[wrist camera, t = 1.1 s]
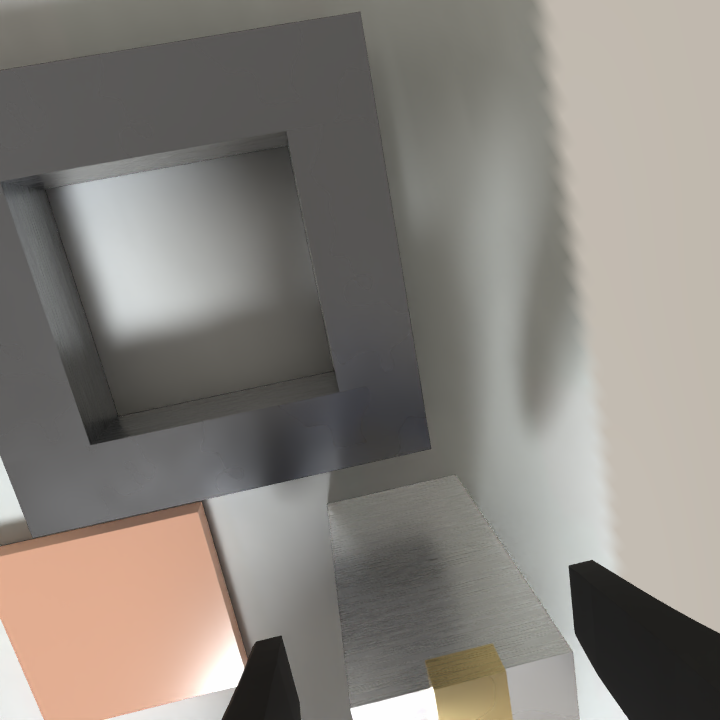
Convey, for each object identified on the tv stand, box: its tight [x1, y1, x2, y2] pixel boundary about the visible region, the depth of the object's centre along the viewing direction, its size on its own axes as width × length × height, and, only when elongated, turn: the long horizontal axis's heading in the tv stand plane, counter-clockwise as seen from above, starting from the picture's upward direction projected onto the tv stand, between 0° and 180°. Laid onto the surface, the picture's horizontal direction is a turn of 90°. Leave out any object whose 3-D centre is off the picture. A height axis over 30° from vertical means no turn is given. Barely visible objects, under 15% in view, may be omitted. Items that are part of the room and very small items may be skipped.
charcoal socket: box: [0, 12, 431, 538], centre depth 13 cm, size 10×10×2 cm
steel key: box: [327, 475, 580, 720], centre depth 13 cm, size 5×4×8 cm
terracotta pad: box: [0, 501, 248, 720], centre depth 15 cm, size 6×6×1 cm
